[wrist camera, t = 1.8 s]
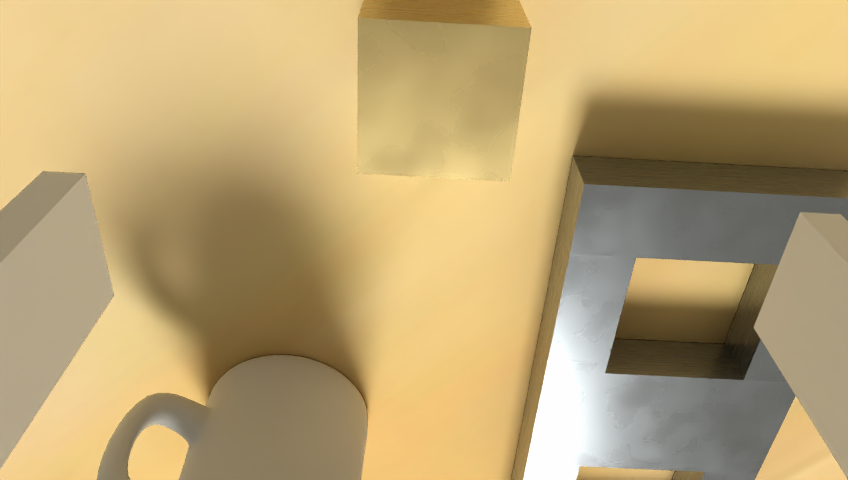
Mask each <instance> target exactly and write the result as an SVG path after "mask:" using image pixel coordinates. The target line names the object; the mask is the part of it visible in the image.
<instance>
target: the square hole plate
mask: <svg viewBox="0 0 848 480" xmlns="http://www.w3.org/2000/svg"><path fill="white" fill-rule="evenodd" d="M800 212H808V213H827V214H841V215H842V216H843V217H844V218H845V219H846V220H847V221H848V171H840V170H822V169H804V168H785V167H767V166H749V165H731V164H712V163H694V162H676V161H658V160H640V159H621V158H603V157H585V156H573V158H572V163H571V169H570V174H569V179H568V184H567V190H566V195H565V200H564V205H563V210H562V216H561V221H560V226H559V231H558V237H557V242H556V247H555V252H554V258H553V263H552V268H551V273H550V279H549V284H548V289H547V294H546V300H545V305H544V310H543V315H542V321H541V326H540V331H539V336H538V342H537V347H536V352H535V357H534V363H533V368H532V373H531V378H530V384H529V389H528V394H527V399H526V404H525V410H524V415H523V420H522V425H521V431H520V436H519V441H518V446H517V452H516V457H515V462H514V467H513V473H512V478H511V480H576V479H577V475H578V471H579V468H580V466H586V467H608V468H630V469H653V470H675V473H674V475H673V478H672V480H755V478H756V476H757V474H758V472H759V470H760V468H761V466H762V464H763V462H764V460H765V458H766V455H767V453H768V451H769V449H770V447H771V445H772V443H773V441H774V439H775V437H776V435H777V433H778V431H779V429H780V427H781V425H782V423H783V421H784V419H785V416H786V414H787V412H788V410H789V408H790V406H791V404H792V402H793V400H794V398H795V396H796V395H795V394H794V392H793V390H792V389H791V387H790V385H789V384H788V382H787V381H786V379H785V377H784V376H783V374H782V373H781V371H780V369H779V368H778V366H777V365H776V363H775V361H774V360H773V358H772V357H771V355H770V353H769V352H768V350H767V348H766V347H765V345H764V344H763V342H762V340H761V339H760V337H759V336H758V334H757V332H756V331H755V329H754V328H753V327H754V325H755V322H756V320H757V318H758V315H759V313H760V310H761V308H762V305H763V303H764V300H765V298H766V295H767V293H768V290H769V288H770V285H771V283H772V280H773V278H774V275H775V273H776V270H777V268H778V265H779V263H780V261H781V258H782V256H783V253H784V251H785V248H786V246H787V243H788V241H789V238H790V236H791V233H792V231H793V228H794V226H795V223H796V221H797V218H798V216H799V213H800ZM636 257H637V258H656V259H676V260H695V261H714V262H734V263H753V264H755V266H754V268H753V271H752V273H751V276H750V279H749V281H748V284H747V286H746V289H745V292H744V294H743V297H742V299H741V302H740V304H739V307H738V310H737V312H736V315H735V317H734V320H733V323H732V325H731V328H730V330H729V333H728V336H727V338H726V341H725V343H724V344H710V343H690V342H669V341H649V340H629V339H614V338H615V334H616V330H617V327H618V323H619V319H620V316H621V312H622V308H623V304H624V301H625V297H626V293H627V290H628V286H629V282H630V278H631V275H632V271H633V267H634V264H635V260H636Z"/></svg>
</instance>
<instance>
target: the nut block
mask: <svg viewBox="0 0 848 480" xmlns="http://www.w3.org/2000/svg"><path fill="white" fill-rule="evenodd" d="M530 34H531V26H530V24H529V21H528V19H527V17H526V15H525V12H524V10H523V8H522V6H521V4H520V1H519V0H364V1H363V4H362V7H361V10H360V13H359V16H358V173H359V174H377V175H396V176H415V177H434V178H453V179H471V180H490V181H509V182H510V178H511V171H512V164H513V157H514V149H515V142H516V135H517V128H518V121H519V114H520V106H521V99H522V92H523V85H524V78H525V70H526V63H527V56H528V49H529V42H530Z"/></svg>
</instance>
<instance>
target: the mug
mask: <svg viewBox="0 0 848 480" xmlns="http://www.w3.org/2000/svg"><path fill="white" fill-rule="evenodd" d="M150 425H161V426H165V427H167V428H169V429H172V430H173V431H175V432H177V433H178V434H180V435H181V436H182V437H183V438H184V439H185V440H186V441H187V442H188V444H189V448H188V452H187V455H186V459H185V462H184V465H183V469H182V472H181V475H180V478H179V480H361V477H362V468H363V460H364V453H365V446H366V439H367V429H368V415H367V409H366V405H365V402H364V400H363V398H362V396H361V394H360V392H359V391H358V390H357V388H356V387H355V386H354V385H353V384H352V383H351V382H350V380H349V379H347V378H346V377H345V376H344V375H342V374H341V373H340V372H338V371H337V370H335V369H333V368H332V367H330V366H328V365H326V364H323V363H321V362H318V361H315V360H312V359H309V358H305V357H299V356H293V355H268V356H261V357H257V358H253V359H250V360H247V361H245V362H242V363H240V364H238V365H236V366H234V367H233V368H231V369H230V370H229V371H227V372H226V373H225V374H224V375H223V376H222V377H221V378H220V379H219V381H218V382H217V383H216V385H215V386H214V388H213V390H212V392H211V394H210V396H209V398H208V401H207V403H206V406H204V405H201V404H199V403H197V402H195V401H192V400H190V399H187V398H185V397H182V396H179V395H176V394H170V393H156V394H153V395H150V396H147V397H145V398H144V399H142V400H141V401H139V402H138V403H137V404H136V405H135V406H134V407H133V408H132V409H131V410H130V411H129V412H128V413H127V414H126V415H125V417H124V418H123V419H122V421H121V422H120V423H119V425H118V427H117V428H116V430H115V432H114V434H113V435H112V437H111V439H110V441H109V443H108V445H107V447H106V450H105V452H104V454H103V457H102V460H101V464H100V467H99V470H98V477H97V480H130V478H129V476H128V469H127V468H128V459H129V455H130V451H131V449H132V446H133V444H134V442H135V440H136V438H137V437H138V435H139V434H140V433H141V431H143V430H144V429H145V428H146V427H148V426H150Z"/></svg>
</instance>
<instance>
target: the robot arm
mask: <svg viewBox="0 0 848 480" xmlns="http://www.w3.org/2000/svg"><path fill="white" fill-rule="evenodd" d="M113 296H114V293H113V289H112V284H111V280H110V276H109V271H108V267H107V263H106V259H105V254H104V250H103V246H102V241H101V237H100V233H99V229H98V224H97V220H96V216H95V211H94V207H93V203H92V199H91V194H90V190H89V186H88V182H87V177H86V174H83V173H65V172H46V171H43V172H42V173H41V174H40V175H39V176H37V177H36V178H35V179H34V180H33V181H32V182H31V183H30V184H29V185H28V186H27V187H26V188H25V189H23V190H22V191H21V192H20V193H19V194H18V195H17V196H16V197H15V198H14V199H13V200H12V201H11V202H9V203H8V204H7V205H6V206H5V207H4V208H3V209H2V210H1V211H0V469H1V467H2V466H3V464H4V463H5V461H6V460H7V458H8V457H9V455H10V453H11V452H12V450H13V449H14V447H15V446H16V444H17V443H18V441H19V440H20V438H21V437H22V435H23V434H24V432H25V431H26V429H27V428H28V426H29V424H30V423H31V421H32V420H33V418H34V417H35V415H36V414H37V412H38V411H39V409H40V408H41V406H42V405H43V403H44V402H45V400H46V399H47V397H48V395H49V394H50V392H51V391H52V389H53V388H54V386H55V385H56V383H57V382H58V380H59V379H60V377H61V376H62V374H63V373H64V371H65V370H66V368H67V367H68V365H69V363H70V362H71V360H72V359H73V357H74V356H75V354H76V353H77V351H78V350H79V348H80V347H81V345H82V344H83V342H84V341H85V339H86V338H87V336H88V334H89V333H90V331H91V330H92V328H93V327H94V325H95V324H96V322H97V321H98V319H99V318H100V316H101V315H102V313H103V312H104V310H105V309H106V307H107V305H108V304H109V302H110V301H111V299H112V298H113ZM753 328H754V329H755V331H756V332H757V334H758V336H759V337H760V339H761V340H762V342H763V344H764V345H765V347H766V348H767V350H768V352H769V353H770V355H771V357H772V358H773V360H774V361H775V363H776V365H777V366H778V368H779V369H780V371H781V373H782V374H783V376H784V377H785V379H786V381H787V382H788V384H789V385H790V387H791V389H792V390H793V392H794V394H795V395H796V397H797V398H798V400H799V402H800V403H801V405H802V406H803V408H804V410H805V411H806V413H807V414H808V416H809V418H810V419H811V421H812V423H813V424H814V426H815V427H816V429H817V431H818V432H819V434H820V435H821V437H822V439H823V440H824V442H825V443H826V445H827V447H828V448H829V450H830V452H831V453H832V455H833V456H834V458H835V460H836V461H837V463H838V464H839V466H840V468H841V469H842V471H843V472H844V474H845V476H846V477H847V479H848V221H847V220H846V219H845V218H844V217H843V216H842V215H841V214H827V213H808V212H800V213H799V216H798V218H797V221H796V223H795V226H794V228H793V231H792V233H791V236H790V238H789V241H788V243H787V246H786V248H785V251H784V253H783V256H782V258H781V261H780V263H779V265H778V268H777V270H776V273H775V275H774V278H773V280H772V283H771V285H770V288H769V290H768V293H767V295H766V298H765V300H764V303H763V305H762V308H761V310H760V313H759V315H758V318H757V320H756V322H755V325H754V327H753Z"/></svg>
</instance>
